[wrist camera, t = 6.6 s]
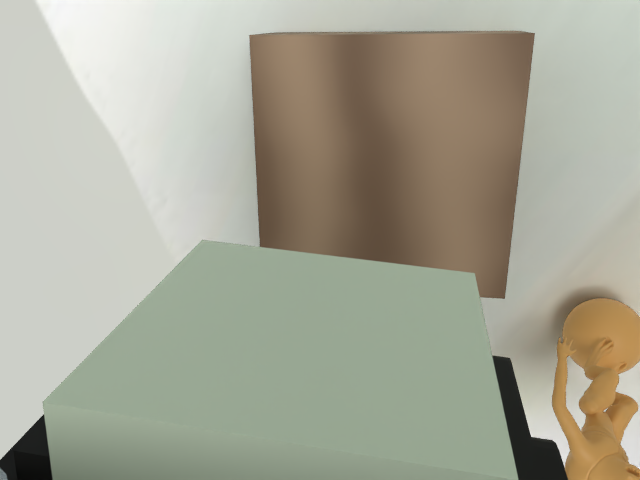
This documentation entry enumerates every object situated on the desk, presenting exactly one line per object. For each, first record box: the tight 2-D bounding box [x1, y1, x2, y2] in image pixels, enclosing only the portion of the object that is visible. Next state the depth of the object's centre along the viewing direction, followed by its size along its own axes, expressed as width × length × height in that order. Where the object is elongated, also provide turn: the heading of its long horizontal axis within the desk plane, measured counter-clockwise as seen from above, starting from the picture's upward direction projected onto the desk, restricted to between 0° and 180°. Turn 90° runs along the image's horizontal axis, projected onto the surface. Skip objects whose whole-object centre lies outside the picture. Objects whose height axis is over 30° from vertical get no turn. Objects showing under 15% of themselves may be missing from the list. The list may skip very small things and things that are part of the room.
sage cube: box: [43, 240, 518, 480], centre depth 9 cm, size 5×5×5 cm
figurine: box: [552, 298, 640, 480], centre depth 27 cm, size 8×6×12 cm
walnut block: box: [250, 31, 535, 299], centre depth 29 cm, size 12×12×5 cm
